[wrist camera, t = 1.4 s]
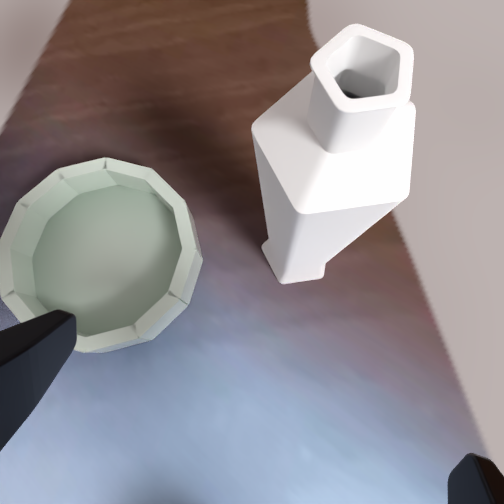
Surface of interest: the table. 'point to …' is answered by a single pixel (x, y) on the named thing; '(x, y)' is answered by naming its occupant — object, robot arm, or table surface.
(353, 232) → the white faceted vase
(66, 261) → the ring dish
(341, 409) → the table surface
